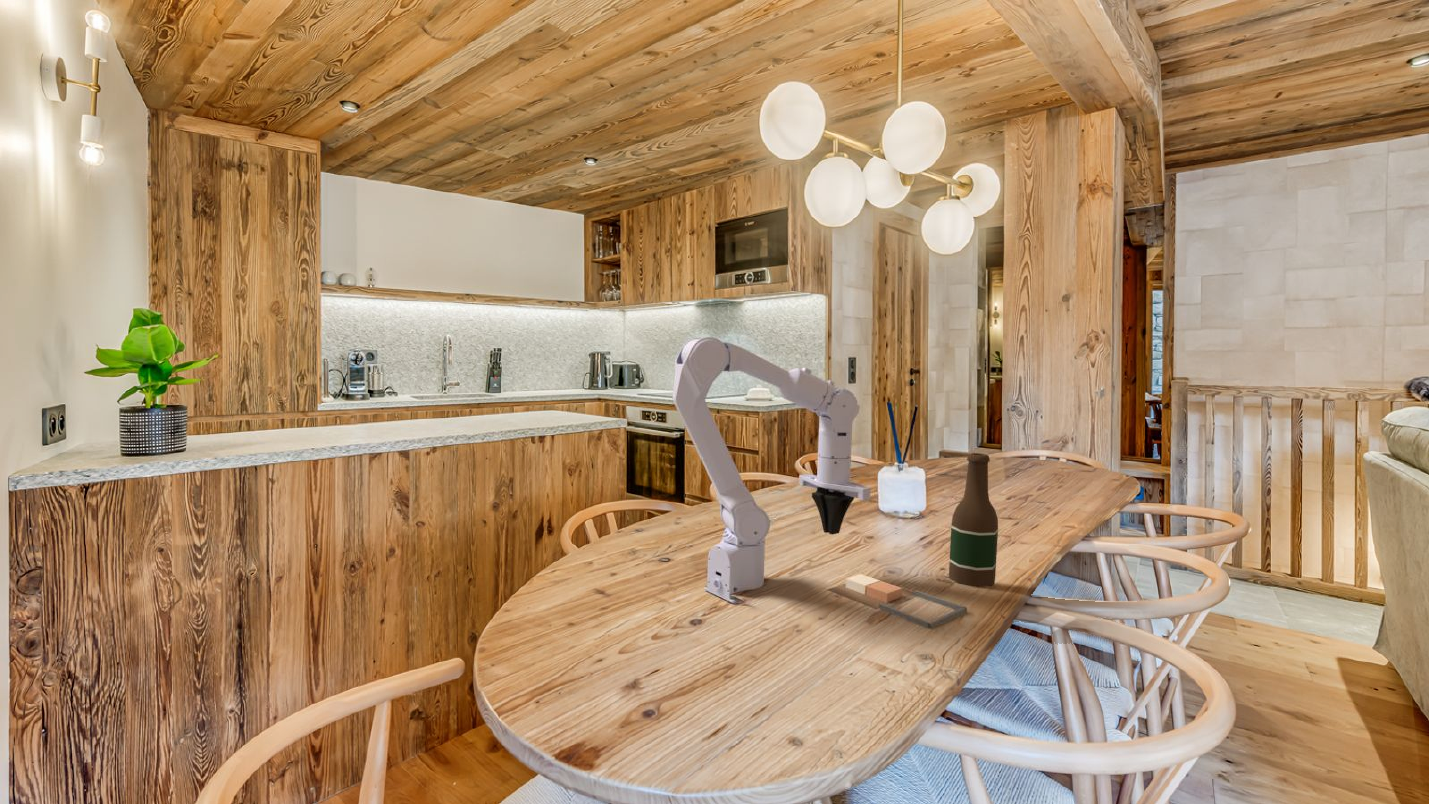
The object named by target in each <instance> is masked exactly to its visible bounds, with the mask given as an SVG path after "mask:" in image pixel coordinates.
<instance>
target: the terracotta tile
mask: <svg viewBox="0 0 1429 804" xmlns="http://www.w3.org/2000/svg"><path fill="white" fill-rule="evenodd" d="M902 588H903V587H899V586H897V585H894V584H891V583H888V582H885V581H882V580H880V582H877V583H875V584H872V585H869V586H867V592H866V595H868V596H870V597H873V598H876V599H878V600H881V601H884V602H886V603H887V602H890V601H893V600H895V599H898V598H901V597H902Z"/></svg>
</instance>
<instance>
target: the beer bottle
mask: <svg viewBox="0 0 1429 804" xmlns="http://www.w3.org/2000/svg"><path fill="white" fill-rule="evenodd" d="M966 461H968V462H967V463H968V466H967V470H966V471H967V472H966V482H965V488H964V489H965V490H964V493H963V498H962V500H961V501H960V502H959V503H958V505H957V506H956V507H955V510H954V512H953V514H952V520H951V527H950V544H949V545H950V546H949V563H948V564H949V565H948V566H949V567H948V568H949V569H948V578H949V579H950V580H952V581H953V582H955V583H956V584H958V585H962V586H963V585H964V586H968V587H972V588H987V587H988V588H990V587H992V586H995V581H996V573H997V572H996V570H997V569H996V568H997V554H998V553H997V552H998V539H999V538H998V535H999V519H998V515H997V513H996V512H997V511H996V509H995V508H994V505H993V504H992V503H991V501H990V497H989V496H990V495H989V462H991V459H990V455H988V454H985V453H979V452H976V453H975V452H971V453H969V454H968V455H967V457H966Z"/></svg>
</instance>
